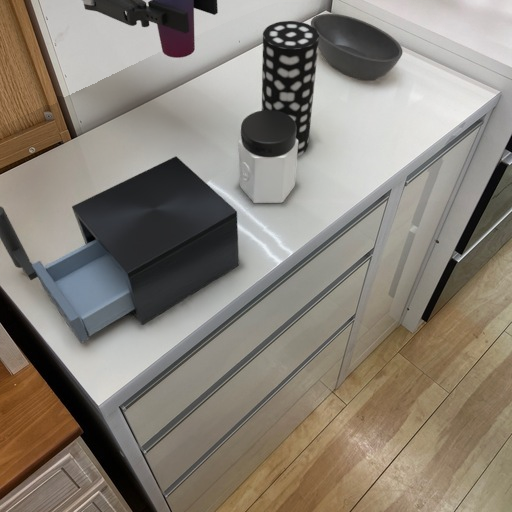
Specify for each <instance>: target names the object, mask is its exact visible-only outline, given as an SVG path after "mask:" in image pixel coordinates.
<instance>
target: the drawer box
mask: <svg viewBox="0 0 512 512" xmlns="http://www.w3.org/2000/svg"><path fill="white" fill-rule="evenodd" d="M71 209H72V211H73V214H74V216H75V220H76V223H77V225H78V227H79V230H80V233H81V236H82V238H83V242H84V245H86V244H88V243H90V242H92V241H94V240H95V239H97V241H98V242H99V243H100V244H101V246H102V247H103V248H104V249H105V250H106V252H107V253H108V254H109V255H110V256H111V258H112V259H113V260H114V261H115V263H116V264H117V265H118V266H119V267H120V269H121V270H122V271H123V272H124V275H125V278H126V282H127V285H128V288H129V292H130V295H131V298H132V302H133V305H134V308H135V309H134V310H132V311H131V313H132V314H133V315H134V317H135V318H136V319H137V320H138V322H139V323H140V324H141V325H143V326H144V325H145V324H146V323H148V322H150V321H151V320H153V319H155V318H156V317H158V316H159V315H161V314H163V313H165V312H166V311H168V310H170V309H171V308H172V307H174V306H176V305H177V304H179V303H180V302H182V301H184V300H185V299H188V298H189V297H190V296H192V295H193V294H195V293H196V292H198V291H200V290H202V289H204V288H205V287H207V286H209V284H211V283H213V282H214V281H216V280H217V279H219V278H221V277H222V276H225V275H226V274H228V273H229V272H231V271H233V270H234V269H235V268H237V267H239V266H240V262H239V261H240V260H239V258H240V257H239V231H238V230H239V229H238V211H237V210H236V209H235V208H234V207H233V206H232V205H230V204H229V202H227V200H226V199H224V198H223V197H222V196H221V195H220V194H219V193H217V192H216V191H215V190H214V189H213V188H212V187H211V186H210V185H208V183H206V182H205V181H204V180H203V179H202V178H201V177H200V176H199V175H197V173H195V172H194V171H193V170H192V168H190V167H189V166H188V165H187V164H186V163H184V161H182V159H180V158H179V157H178V156H176V155H175V156H173V157H171V158H169V159H167V160H164V161H163V162H161V163H159V164H157V165H155V166H153V167H150V168H149V169H147V170H144V171H142V172H140V173H138V174H136V175H134V176H132V177H130V178H128V179H126V180H123V181H122V182H120V183H118V184H116V185H114V186H112V187H109V188H106V189H105V190H103V191H101V192H99V193H97V194H95V195H93V196H91V197H88V198H86V199H84V200H82V201H80V202H78V203H76V204H74V205H72V206H71Z"/></svg>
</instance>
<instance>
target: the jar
mask: <svg viewBox="0 0 512 512" xmlns="http://www.w3.org/2000/svg"><path fill="white" fill-rule="evenodd" d="M296 130H297V127H296V123H295V121H294V120H293V119H292V118H291V117H290V116H289V115H287V114H285V113H282V112H279V111H274V110H263V111H262V110H258V111H254V112H252V113H250V114H249V115H247V116H246V117H245V118H244V119H243V121H242V122H241V126H240V139H239V140H238V168H239V187H240V189H241V190H242V191H243V192H244V193H245V195H246V196H247V197H248V198H249V199H250V200H251V201H252V202H253V203H254V204H279V203H280V204H282V203H284V201H286V199H287V197H288V196H289V195H290V193H291V192H292V190H293V189H294V188H295V187H296V176H297V164H298V156H297V152H298V140H297V139H296Z"/></svg>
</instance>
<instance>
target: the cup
mask: <svg viewBox="0 0 512 512" xmlns="http://www.w3.org/2000/svg"><path fill="white" fill-rule="evenodd" d="M153 1H156V2H158V3H162V4H165V5H168V6H170V7H173V8H176V9H179V10H182V11H185V12H188V21H189V32H188V33H183V32H180V31H177V30H175V29H172V28H169V27H166V26H163V25H159V24H156V26H157V32H158V36H159V41H160V46H161V51H162V53H163V54H164V55H165V56H166V57H168V58H173V59H176V58H177V59H178V58H179V59H182V58H186V57H188V56H189V57H190V55H192V54H193V53H194V52H195V48H196V47H195V45H196V44H195V41H196V40H195V8H194V0H153Z"/></svg>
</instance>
